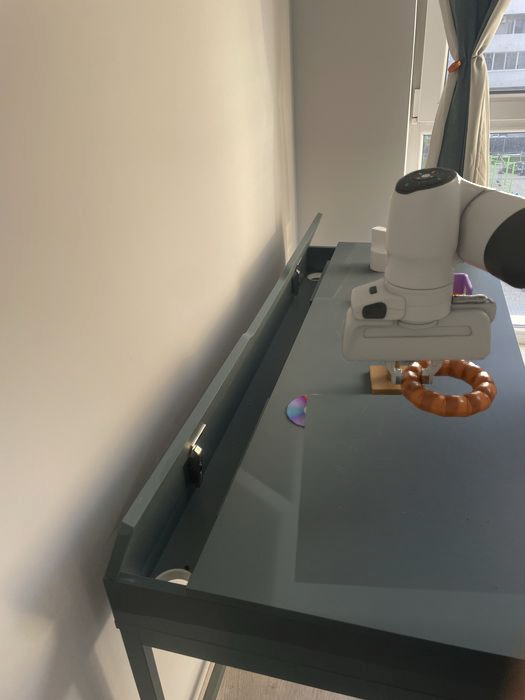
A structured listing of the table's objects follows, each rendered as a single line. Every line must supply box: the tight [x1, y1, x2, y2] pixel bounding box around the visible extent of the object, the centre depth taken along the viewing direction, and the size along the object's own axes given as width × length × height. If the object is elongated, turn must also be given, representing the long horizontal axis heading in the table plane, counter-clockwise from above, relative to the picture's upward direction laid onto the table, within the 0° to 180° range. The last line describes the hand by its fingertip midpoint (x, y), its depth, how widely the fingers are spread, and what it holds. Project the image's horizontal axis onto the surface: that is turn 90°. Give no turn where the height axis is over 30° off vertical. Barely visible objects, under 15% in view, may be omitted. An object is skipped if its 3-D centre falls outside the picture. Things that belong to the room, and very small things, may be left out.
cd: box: [286, 393, 323, 428], centre depth 104 cm, size 11×11×1 cm
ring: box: [401, 360, 498, 418], centre depth 77 cm, size 13×13×3 cm
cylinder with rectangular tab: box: [369, 225, 388, 273], centre depth 164 cm, size 9×9×12 cm
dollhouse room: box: [452, 272, 474, 296], centre depth 139 cm, size 12×12×7 cm
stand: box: [368, 361, 409, 396], centre depth 108 cm, size 9×9×12 cm
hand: (411, 382), depth 78 cm, fingers closed on ring, 3 cm apart
